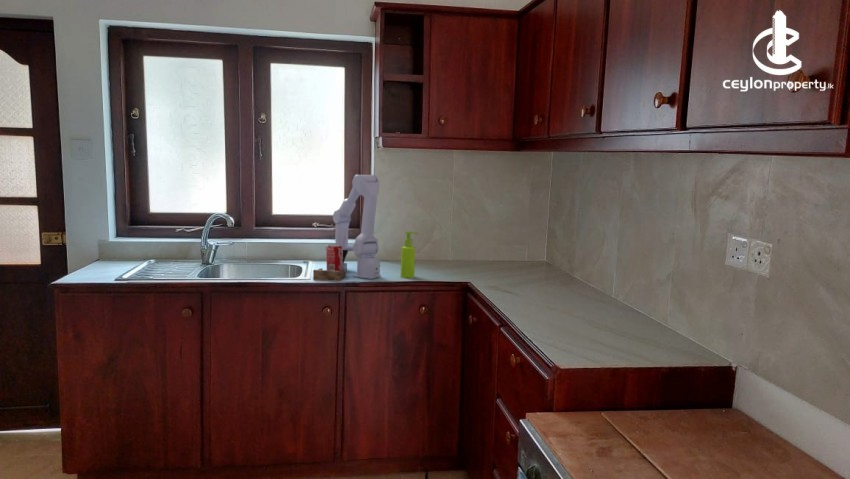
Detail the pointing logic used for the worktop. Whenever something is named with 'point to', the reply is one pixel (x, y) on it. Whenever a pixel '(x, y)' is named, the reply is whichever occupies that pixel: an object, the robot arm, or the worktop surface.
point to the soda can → (335, 257)
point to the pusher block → (344, 266)
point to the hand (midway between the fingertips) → (341, 266)
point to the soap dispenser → (408, 257)
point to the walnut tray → (328, 275)
